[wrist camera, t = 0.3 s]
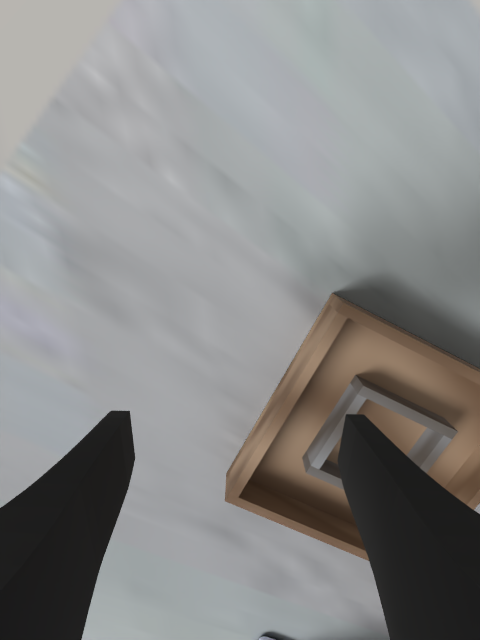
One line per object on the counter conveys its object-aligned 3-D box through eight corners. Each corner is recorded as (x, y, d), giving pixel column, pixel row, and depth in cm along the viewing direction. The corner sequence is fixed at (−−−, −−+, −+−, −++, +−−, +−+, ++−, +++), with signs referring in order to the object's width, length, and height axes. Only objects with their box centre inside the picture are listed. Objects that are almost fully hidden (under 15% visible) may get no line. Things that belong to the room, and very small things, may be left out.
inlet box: (399, 547, 27) (415, 580, 24) (226, 473, 25) (225, 500, 23) (523, 391, 23) (555, 411, 21) (332, 292, 22) (343, 302, 19)
